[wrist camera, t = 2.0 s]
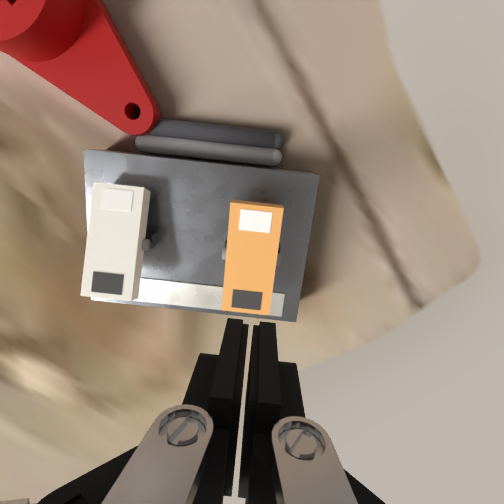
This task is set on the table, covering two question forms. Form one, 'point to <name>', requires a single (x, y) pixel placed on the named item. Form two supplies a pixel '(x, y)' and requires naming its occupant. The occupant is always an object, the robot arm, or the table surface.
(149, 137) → the twin grey rods
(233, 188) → the breaker strip
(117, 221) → the block
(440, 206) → the table surface
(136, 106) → the lever
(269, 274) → the breaker lever
